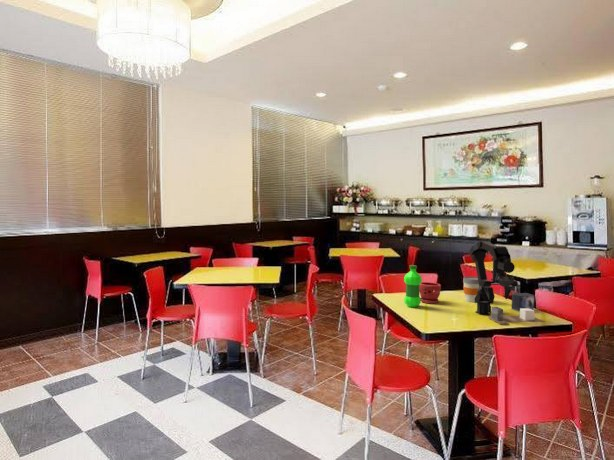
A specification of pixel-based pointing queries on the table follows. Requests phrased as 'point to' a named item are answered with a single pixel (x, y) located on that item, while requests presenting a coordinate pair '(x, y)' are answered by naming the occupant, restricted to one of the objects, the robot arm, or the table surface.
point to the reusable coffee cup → (470, 288)
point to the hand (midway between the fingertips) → (497, 299)
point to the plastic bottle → (412, 287)
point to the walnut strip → (507, 317)
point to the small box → (522, 301)
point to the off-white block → (527, 314)
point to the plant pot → (429, 292)
